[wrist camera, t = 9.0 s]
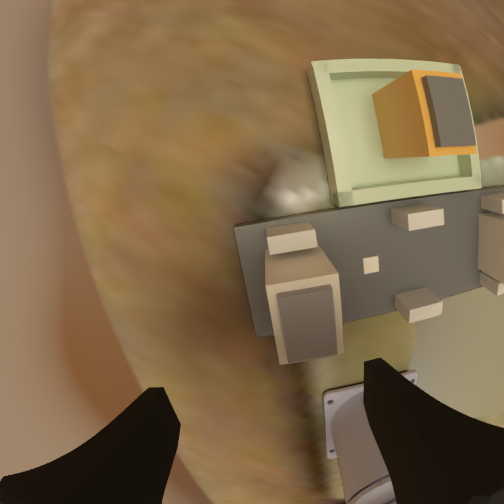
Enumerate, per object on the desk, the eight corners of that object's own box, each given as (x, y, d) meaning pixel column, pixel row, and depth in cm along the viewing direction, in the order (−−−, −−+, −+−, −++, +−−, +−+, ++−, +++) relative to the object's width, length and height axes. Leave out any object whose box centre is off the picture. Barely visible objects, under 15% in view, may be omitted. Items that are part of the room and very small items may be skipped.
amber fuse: (424, 154, 16) (483, 153, 10) (384, 158, 16) (435, 156, 10) (413, 94, 15) (466, 71, 9) (371, 94, 15) (416, 66, 9)
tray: (464, 185, 17) (481, 188, 15) (331, 203, 18) (339, 207, 16) (444, 71, 15) (459, 65, 13) (306, 72, 16) (311, 61, 14)
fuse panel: (505, 272, 18) (559, 304, 11) (256, 329, 20) (253, 400, 13) (507, 185, 16) (571, 197, 10) (235, 224, 18) (218, 257, 11)
